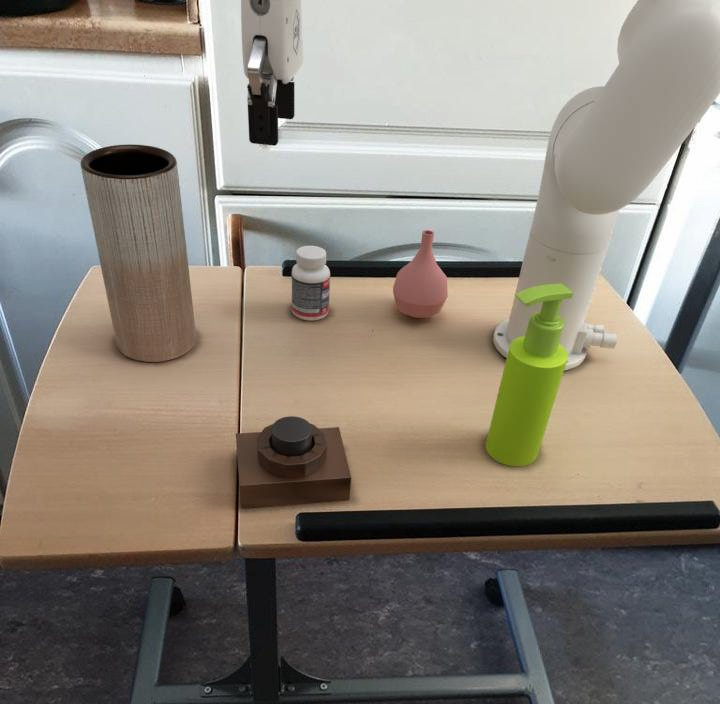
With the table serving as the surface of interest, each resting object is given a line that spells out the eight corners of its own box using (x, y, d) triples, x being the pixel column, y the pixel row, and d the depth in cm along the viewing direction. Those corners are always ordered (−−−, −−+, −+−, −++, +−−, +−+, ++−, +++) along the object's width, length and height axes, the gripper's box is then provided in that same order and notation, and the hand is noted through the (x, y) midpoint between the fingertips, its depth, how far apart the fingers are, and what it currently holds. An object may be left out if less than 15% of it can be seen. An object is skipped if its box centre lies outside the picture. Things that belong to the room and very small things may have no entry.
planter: (198, 360, 88) (177, 176, 73) (115, 365, 87) (75, 177, 71) (195, 319, 96) (175, 143, 80) (118, 323, 94) (83, 143, 78)
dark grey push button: (309, 430, 73) (309, 414, 71) (314, 456, 70) (314, 440, 68) (270, 432, 72) (269, 417, 71) (273, 458, 69) (273, 442, 68)
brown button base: (337, 449, 78) (339, 413, 74) (349, 500, 72) (352, 464, 69) (237, 456, 76) (234, 419, 73) (241, 508, 70) (238, 472, 67)
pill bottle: (327, 323, 97) (329, 262, 91) (289, 320, 97) (289, 259, 91) (329, 303, 101) (332, 244, 95) (293, 301, 101) (293, 241, 95)
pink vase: (385, 322, 98) (393, 239, 90) (396, 296, 104) (404, 216, 96) (439, 332, 97) (453, 249, 89) (447, 305, 103) (461, 225, 95)
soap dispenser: (468, 440, 80) (503, 279, 67) (519, 428, 83) (563, 270, 69) (494, 473, 77) (538, 309, 63) (547, 459, 79) (600, 298, 65)
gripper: (289, -36, 64) (290, 158, 76) (319, -58, 77) (316, 111, 89) (208, -44, 65) (222, 151, 76) (251, -64, 77) (257, 105, 89)
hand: (272, 130), depth 82 cm, fingers open, 9 cm apart
